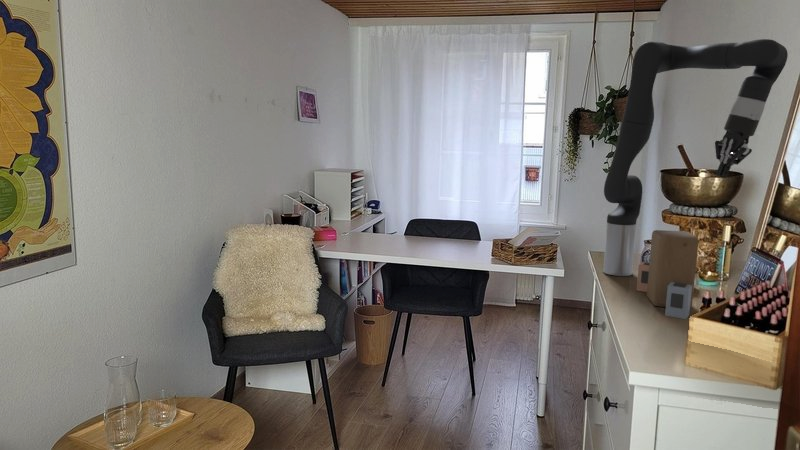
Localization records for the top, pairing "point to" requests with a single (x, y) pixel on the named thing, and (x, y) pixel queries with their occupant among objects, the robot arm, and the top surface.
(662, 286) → the wooden block
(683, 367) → the top surface
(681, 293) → the slate tagged block
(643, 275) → the terracotta tagged block
